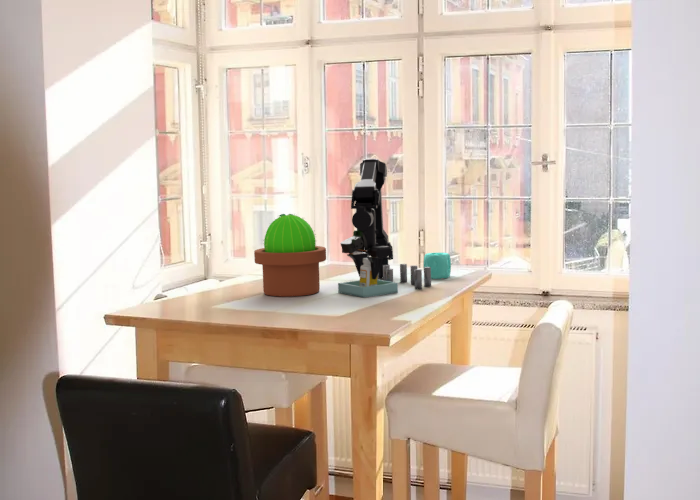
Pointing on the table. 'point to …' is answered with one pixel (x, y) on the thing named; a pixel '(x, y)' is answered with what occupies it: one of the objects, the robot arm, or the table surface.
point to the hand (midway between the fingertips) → (367, 277)
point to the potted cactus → (290, 258)
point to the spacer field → (415, 275)
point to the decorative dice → (438, 264)
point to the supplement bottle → (366, 274)
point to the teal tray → (367, 288)
